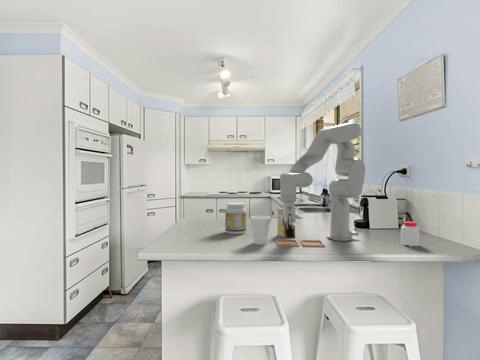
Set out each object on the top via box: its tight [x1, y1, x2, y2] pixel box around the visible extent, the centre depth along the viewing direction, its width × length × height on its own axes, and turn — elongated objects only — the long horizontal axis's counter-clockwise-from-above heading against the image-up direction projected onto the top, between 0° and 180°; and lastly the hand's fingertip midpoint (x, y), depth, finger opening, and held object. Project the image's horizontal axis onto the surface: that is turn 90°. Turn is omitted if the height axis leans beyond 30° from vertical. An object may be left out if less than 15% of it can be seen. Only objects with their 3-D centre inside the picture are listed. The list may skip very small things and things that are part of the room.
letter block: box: [283, 223, 296, 240], centre depth 142 cm, size 5×5×6 cm
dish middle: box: [275, 238, 300, 248], centre depth 142 cm, size 10×10×1 cm
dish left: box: [299, 239, 326, 248], centre depth 141 cm, size 10×10×1 cm
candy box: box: [276, 207, 293, 237], centre depth 162 cm, size 9×4×15 cm, turn 129°
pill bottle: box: [400, 220, 420, 247], centre depth 143 cm, size 8×8×11 cm
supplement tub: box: [224, 201, 247, 235], centre depth 168 cm, size 12×12×17 cm
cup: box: [249, 215, 272, 246], centre depth 143 cm, size 10×10×13 cm
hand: (289, 235), depth 142 cm, fingers closed on letter block, 5 cm apart
